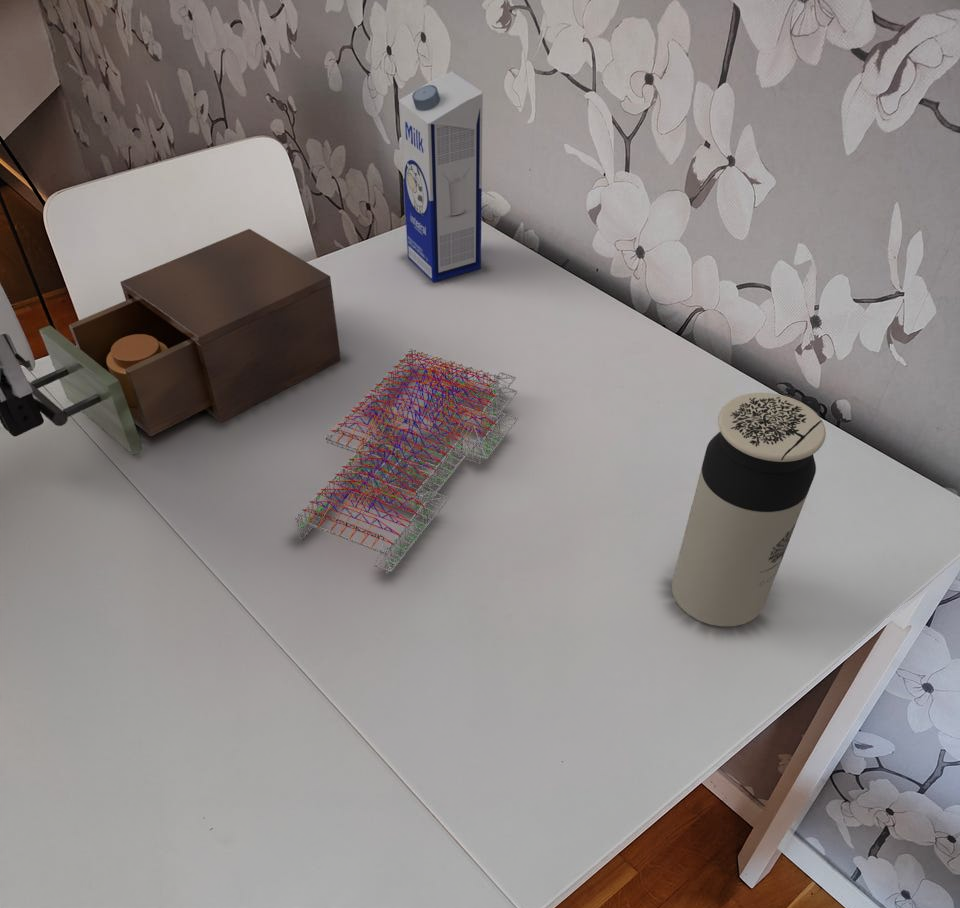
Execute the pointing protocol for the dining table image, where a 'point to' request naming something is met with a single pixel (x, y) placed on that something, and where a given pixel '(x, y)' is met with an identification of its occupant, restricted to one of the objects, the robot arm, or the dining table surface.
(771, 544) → the travel mug
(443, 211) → the milk carton
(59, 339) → the drawer
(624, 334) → the dining table surface
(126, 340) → the small lidded canister
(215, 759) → the dining table surface
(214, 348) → the cabinet
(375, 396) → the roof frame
